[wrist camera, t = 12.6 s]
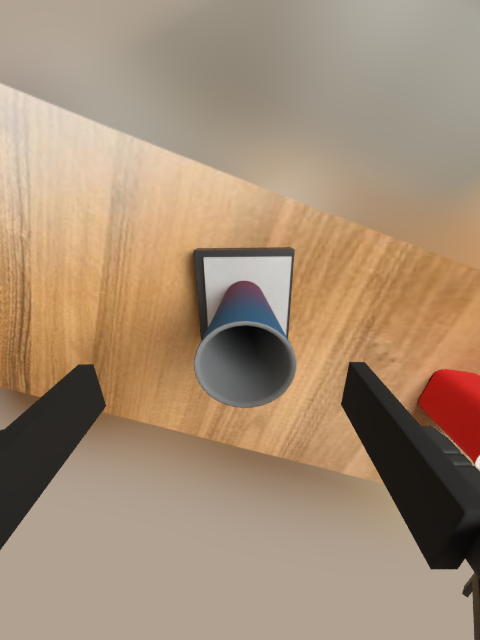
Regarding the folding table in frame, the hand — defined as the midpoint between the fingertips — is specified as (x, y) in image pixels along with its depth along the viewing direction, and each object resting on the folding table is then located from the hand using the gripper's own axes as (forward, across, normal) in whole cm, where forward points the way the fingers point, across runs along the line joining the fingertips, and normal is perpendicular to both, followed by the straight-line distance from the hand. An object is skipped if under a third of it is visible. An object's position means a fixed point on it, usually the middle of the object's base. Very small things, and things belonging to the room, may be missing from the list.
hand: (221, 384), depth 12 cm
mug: (+21, +36, -18) cm, 46 cm away
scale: (+21, +1, -1) cm, 21 cm away
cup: (+18, +1, -1) cm, 18 cm away
